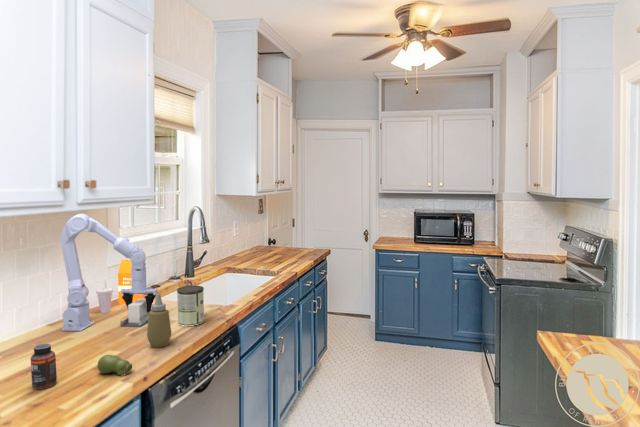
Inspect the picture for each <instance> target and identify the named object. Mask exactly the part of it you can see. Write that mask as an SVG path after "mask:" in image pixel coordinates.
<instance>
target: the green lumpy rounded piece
mask: <svg viewBox="0 0 640 427" xmlns="http://www.w3.org/2000/svg"><path fill="white" fill-rule="evenodd" d="M96 367H97V370H98V371H99V373H101V374H104V375H105V374H106V375H107V374H110V373H116V374H117V375H118V376H120V375H124V374H126V375H127V374H129V373H130V372H131V371H130V370H132V369H133V364H132V363H131V362H130V361H129V360H126V359H123V358H121V357H120V356H118V355H113V354H105V355H103V356H102V357H100V358H99V359H98V362H97V366H96ZM129 371H130V372H129ZM128 372H129V373H128ZM124 376H125V375H124Z"/></svg>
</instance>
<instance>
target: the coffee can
mask: <svg viewBox="0 0 640 427" xmlns="http://www.w3.org/2000/svg"><path fill="white" fill-rule="evenodd" d="M204 290H205V288H204V286H201V285H185V286H180V287H178V288H177V289H176V292H177V293H176V294H177V324H179V325H178V326H180V325H184V326H189V325H196V324H200V323H202V322H203V321H204V322H205V306H204V305H205V304H204V301H205V300H204V297H205V296H204ZM184 326H183V327H184Z"/></svg>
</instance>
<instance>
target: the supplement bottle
mask: <svg viewBox="0 0 640 427" xmlns="http://www.w3.org/2000/svg"><path fill="white" fill-rule="evenodd" d="M33 352H34V353H33V354H32V355H31V356H30V373H31V386H32V388H33V389H34V390H45V389H48V388H51V387H53V386H55V385H56V384H57V382H58V379H57V377H58V375H57V360H56V353H55V351H54V350H52V347H51V344H50V343H43V344H42V343H41V344H38V345H35V346H34V347H33Z"/></svg>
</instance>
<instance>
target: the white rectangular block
mask: <svg viewBox="0 0 640 427" xmlns="http://www.w3.org/2000/svg"><path fill="white" fill-rule="evenodd" d="M127 311H128V312H127V313H128V315H127V316H128V319H129V323H139V321H140V320H141V319H142V318H144V317H145V316H147V315H148V314H149V313H147V304H146V299H145V298H144V299H141V298H140V299H138V300H136V301H134V302H133V303H131V304H129V305H128V308H127Z"/></svg>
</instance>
